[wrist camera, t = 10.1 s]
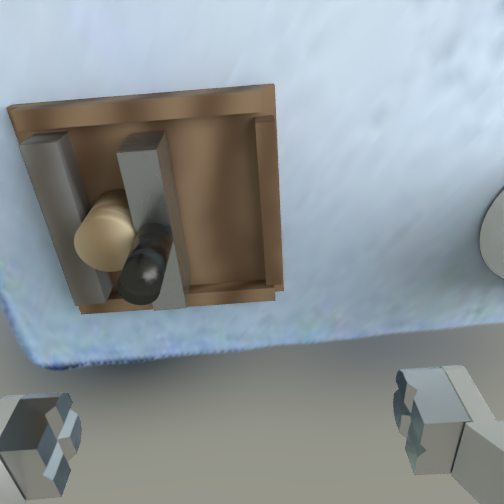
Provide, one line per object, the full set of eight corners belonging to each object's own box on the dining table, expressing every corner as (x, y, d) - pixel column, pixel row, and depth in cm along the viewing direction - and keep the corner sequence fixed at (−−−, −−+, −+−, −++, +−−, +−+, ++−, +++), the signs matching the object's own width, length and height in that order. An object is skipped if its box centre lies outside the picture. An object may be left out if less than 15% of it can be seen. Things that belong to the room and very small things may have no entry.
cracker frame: (273, 83, 37) (277, 94, 33) (282, 285, 48) (286, 308, 44) (11, 104, 37) (-12, 117, 34) (79, 300, 48) (66, 324, 45)
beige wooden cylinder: (143, 186, 40) (128, 217, 35) (153, 235, 43) (141, 269, 38) (88, 191, 40) (66, 221, 35) (101, 238, 43) (83, 273, 38)
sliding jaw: (165, 130, 37) (137, 187, 27) (191, 277, 45) (177, 364, 35) (130, 133, 37) (88, 190, 27) (162, 279, 45) (139, 366, 35)
